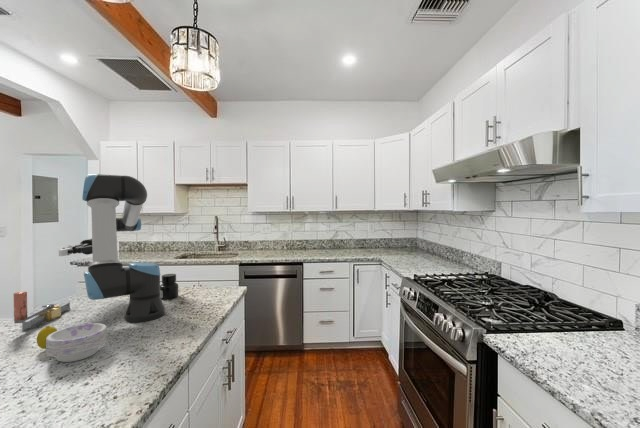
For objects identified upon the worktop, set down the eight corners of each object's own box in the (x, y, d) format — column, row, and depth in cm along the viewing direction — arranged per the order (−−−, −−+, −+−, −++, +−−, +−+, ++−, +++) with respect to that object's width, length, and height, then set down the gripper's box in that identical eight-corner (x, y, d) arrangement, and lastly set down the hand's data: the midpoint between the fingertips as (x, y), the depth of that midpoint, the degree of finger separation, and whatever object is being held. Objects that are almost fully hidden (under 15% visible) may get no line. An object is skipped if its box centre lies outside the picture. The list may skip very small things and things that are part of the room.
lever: (23, 323, 113) (23, 293, 112) (10, 324, 112) (10, 294, 112) (56, 306, 132) (55, 281, 132) (45, 307, 131) (45, 281, 131)
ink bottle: (164, 295, 163) (163, 273, 163) (181, 294, 164) (180, 272, 164) (156, 300, 154) (156, 277, 153) (174, 300, 155) (174, 277, 154)
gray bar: (73, 308, 142) (73, 299, 142) (35, 328, 118) (35, 318, 118) (58, 309, 141) (58, 300, 141) (17, 329, 117) (17, 319, 117)
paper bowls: (97, 340, 108) (96, 318, 108) (114, 352, 99) (114, 328, 99) (40, 357, 96) (39, 333, 95) (54, 373, 87) (53, 345, 86)
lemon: (33, 351, 99) (32, 327, 99) (53, 344, 105) (52, 321, 104) (42, 355, 97) (42, 330, 97) (63, 347, 102) (62, 324, 102)
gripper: (105, 253, 154) (78, 261, 131) (76, 253, 151) (43, 262, 128) (105, 238, 154) (77, 243, 131) (76, 239, 151) (43, 244, 128)
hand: (60, 253), depth 129 cm, fingers closed
